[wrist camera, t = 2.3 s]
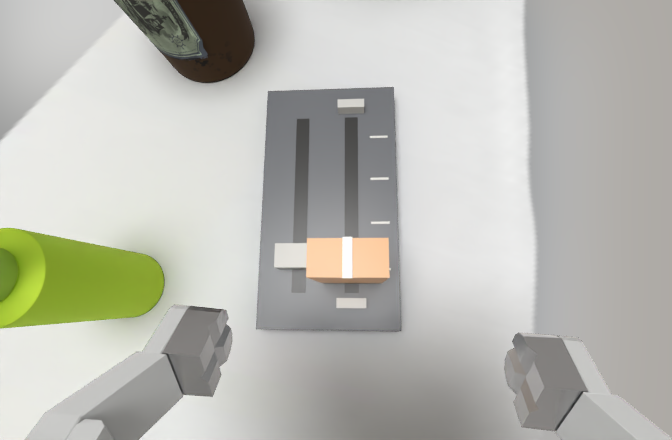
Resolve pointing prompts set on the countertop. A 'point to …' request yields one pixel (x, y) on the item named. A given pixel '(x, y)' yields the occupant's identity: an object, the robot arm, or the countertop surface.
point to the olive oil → (196, 34)
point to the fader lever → (348, 260)
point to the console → (327, 206)
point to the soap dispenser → (71, 281)
